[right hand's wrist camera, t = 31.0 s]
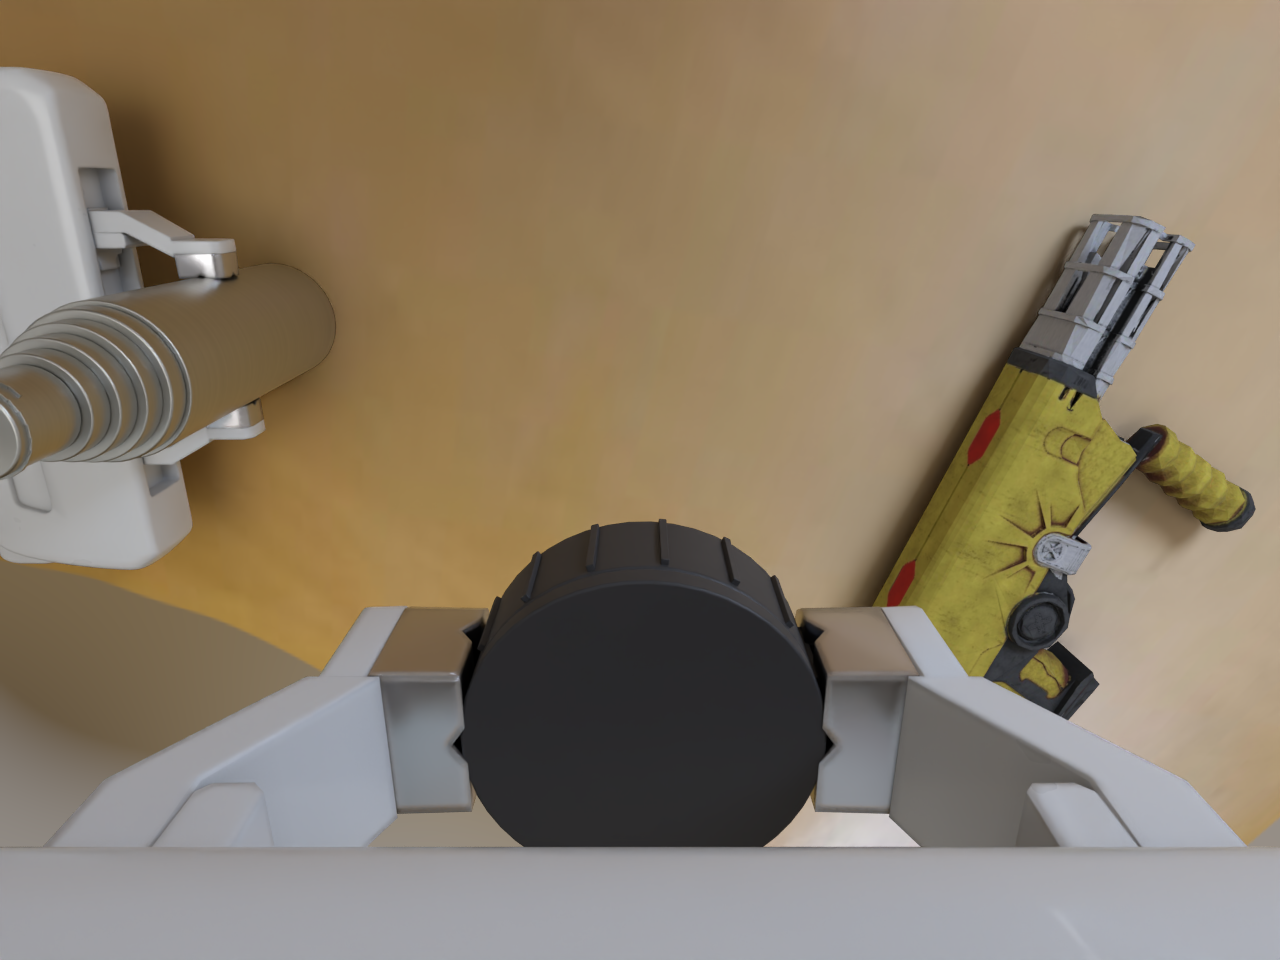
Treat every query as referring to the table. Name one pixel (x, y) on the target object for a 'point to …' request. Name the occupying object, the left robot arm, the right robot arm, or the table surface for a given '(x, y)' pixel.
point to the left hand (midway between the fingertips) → (244, 339)
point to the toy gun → (1051, 476)
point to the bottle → (155, 364)
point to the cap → (643, 696)
